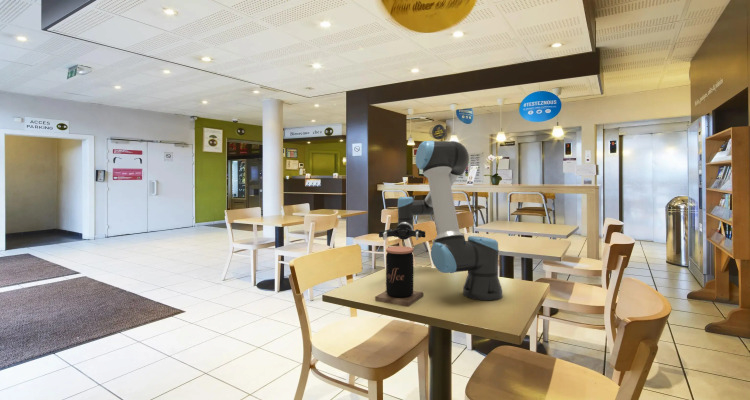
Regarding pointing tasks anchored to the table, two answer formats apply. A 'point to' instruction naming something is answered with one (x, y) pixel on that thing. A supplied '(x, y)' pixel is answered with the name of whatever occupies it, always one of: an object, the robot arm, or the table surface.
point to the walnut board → (400, 301)
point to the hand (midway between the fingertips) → (400, 236)
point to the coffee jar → (399, 271)
